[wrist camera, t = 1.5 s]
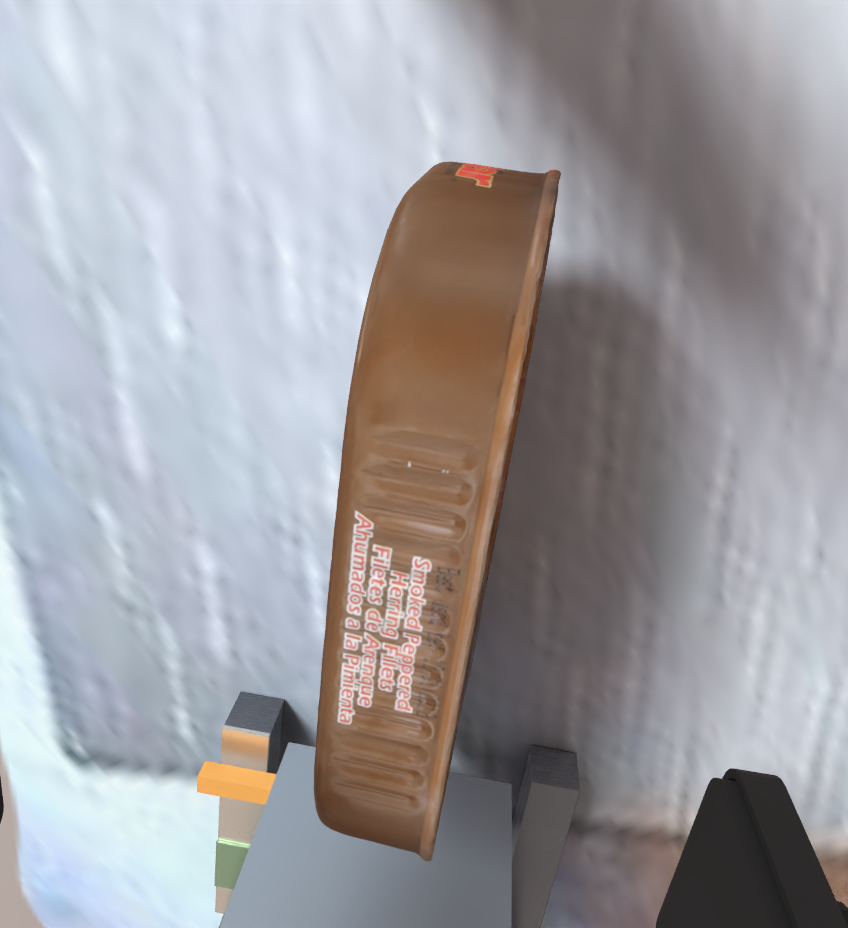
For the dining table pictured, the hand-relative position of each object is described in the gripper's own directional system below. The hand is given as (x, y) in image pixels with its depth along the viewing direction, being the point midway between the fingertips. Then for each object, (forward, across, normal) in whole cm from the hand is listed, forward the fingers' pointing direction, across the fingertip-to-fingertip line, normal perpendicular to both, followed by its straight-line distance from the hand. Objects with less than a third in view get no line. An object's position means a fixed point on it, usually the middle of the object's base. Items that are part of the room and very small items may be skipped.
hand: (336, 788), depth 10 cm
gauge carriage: (+10, 0, +10) cm, 14 cm away
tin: (+12, -1, 0) cm, 12 cm away
